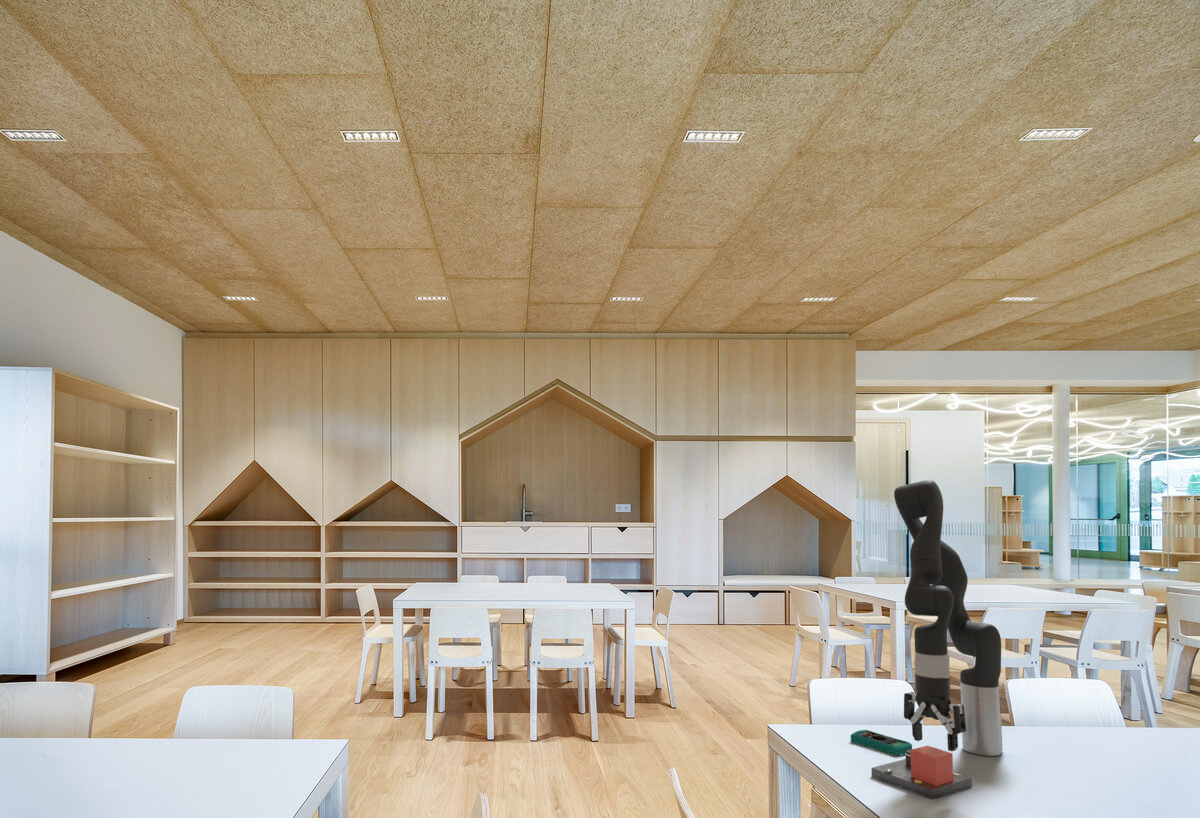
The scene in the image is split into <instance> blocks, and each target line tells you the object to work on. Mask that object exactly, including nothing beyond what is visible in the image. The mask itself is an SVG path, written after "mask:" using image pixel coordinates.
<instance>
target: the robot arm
mask: <svg viewBox="0 0 1200 818" xmlns="http://www.w3.org/2000/svg"><path fill="white" fill-rule="evenodd" d="M939 487H940V486H939V485H938V484H937V483H936V481H934V480H933V479H926V480H920V481H917V482H913V483H908V484H904V485H901V486H897V487H896V488H895V489H894V492H893V496H894V502H895V505H896V508H897V509H898V512H899V514H900V517H901V518H902V520H903V522H904V524H905V525H906V528H907V529H908V532H909V534H910V536H911V538H912V540H913V542H912V544H911V546H910V551H909V552H910V553H909V554H910V555H909V558H910V560H909V561H910V578H909V581H908V584H907V588H906V591H905V594H904V606H905V607H906V610H907V611H908V612H909V613H910V614H912V615H913V616H929V617H930V616H931V617H937V619H936V620H935V621H934V622H933V623H930V624H923V625H918V626H916V627H915V629H914V631H913V632H914V659H913V660H914V661H913V664H914V665H913V666H914V686H915V687H914V689H915V692H916V694H915V693H914V692H913V691H910V692H906V693H904V695H903V718H904V719H905V720H909V721H910V723H911V728H912V729H911V731H912V732H911V733H912V734H911V735H912V738H913V739H914V741H917V742H920V741H922V740H923V723H922V721H923V720H924V718H925V717H926V718H932V719H933V720H935V721H939V723H941V725H942V726H943V727H944V728H945V730H946V731H947V735H946V737H947V738H946V739H947V751H948V752H949V751H950V752H955V751H957V749H958V747H959V739H958V738H959V736H958V735H960V734H961V737H962V738H961V741H962V743H961V744H962V750H964V751H965V752H967V753H971V754H974V755H978V756H985V757H996V756H1000V755H1001V754H1002V752H1003V731H1002V726H1003V725H1002V715H1001V711H1000V709H1001V708H1000V707H1001V706H1000V687H999V686H1000V683H999V681H1000V678H1001V673H1002V637H1001V634H1000V632H999V630H998V628H997V627H996V626H995V625H994V624H990V623H986V622H979V621H975V620H974V621H973V620H971V619H970V617H969V615H968V612H967V609H966V606H965V603H964V600H965V595H966V592H967V588H968V583H969V582H968V581H969V579H968V574H967V572H966V569H965V567H964V564H963V562H962V559H961V558H960V555H959V554H958V553H957V551H956V550H955V549H953V548H952V547H951V546H950V545H948V544H947V543H946V542H944V541H943V540H942V539H941V538H942V531H943V521H944V520H943V519H944V499H943V494H942V492H941V489H940V488H939ZM925 517H926V518H925ZM921 518H925V520H924V523H923V522H922V520H921ZM948 632H949V636H950V640H951V642H952V644H953V646H954V647H955V649H956V651H958V652H959V653H960V654H962V655H964V656H965V655H966V656H970V657H973V658H975V661H974V666H973V667H971V668H966V669H962V670H961V671H960V672H959V673H960V674H959V675H960V676H959V677H960V678H959V679H960V681H959V682H960V703H959V704H956V703H952V702H951V699H950V697H951V691H952V690H951V676H950V675H951V672H950V671H951V670H950V660H949V655H948V653H949V652H948V650H949V649H948ZM915 704H917V706H918V708H916V710H915V707H916V705H915ZM952 714H953V716H952Z"/></svg>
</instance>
